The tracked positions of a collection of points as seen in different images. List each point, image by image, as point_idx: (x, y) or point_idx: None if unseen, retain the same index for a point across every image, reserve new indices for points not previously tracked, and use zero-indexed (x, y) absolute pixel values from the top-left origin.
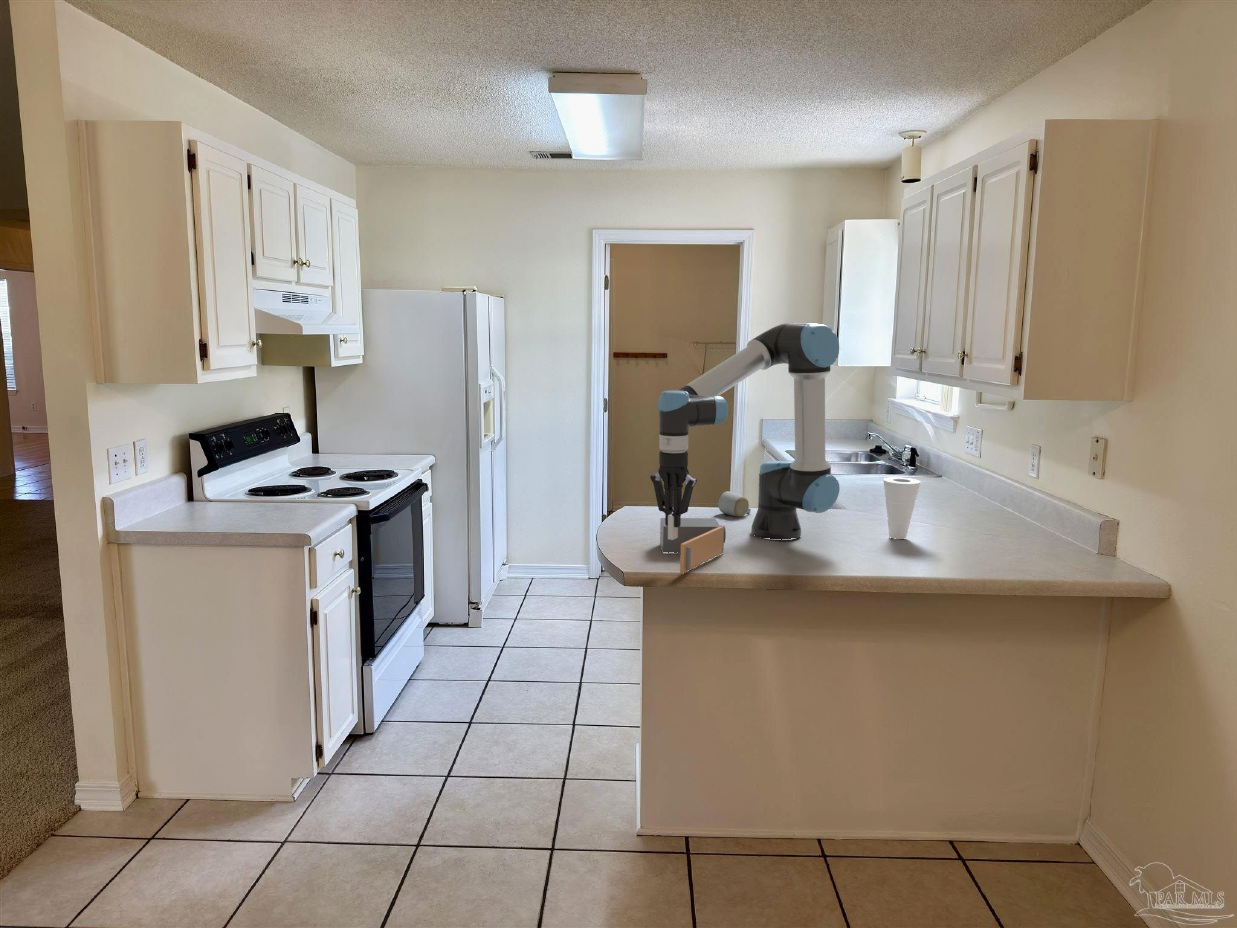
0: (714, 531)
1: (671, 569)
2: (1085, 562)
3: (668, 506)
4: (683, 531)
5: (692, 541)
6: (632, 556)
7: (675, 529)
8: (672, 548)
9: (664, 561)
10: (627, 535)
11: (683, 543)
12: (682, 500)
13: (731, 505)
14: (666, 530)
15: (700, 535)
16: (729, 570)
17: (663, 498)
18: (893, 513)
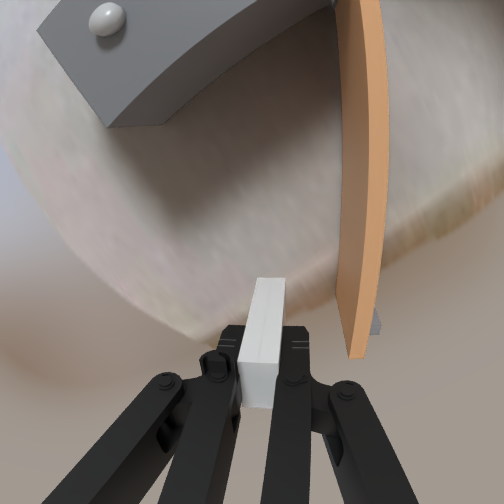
0: (384, 52)
1: (285, 260)
2: None
3: (233, 450)
4: (191, 59)
5: (375, 295)
6: (111, 214)
7: (283, 324)
8: (180, 101)
9: (216, 196)
10: (6, 62)
11: (355, 348)
12: (349, 502)
13: None
14: (126, 116)
15: (371, 185)
16: (446, 163)
17: (148, 454)
18: None
